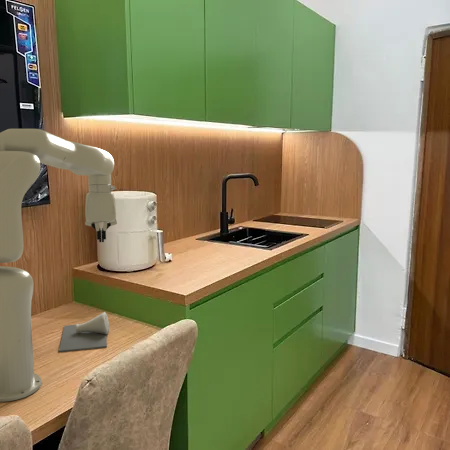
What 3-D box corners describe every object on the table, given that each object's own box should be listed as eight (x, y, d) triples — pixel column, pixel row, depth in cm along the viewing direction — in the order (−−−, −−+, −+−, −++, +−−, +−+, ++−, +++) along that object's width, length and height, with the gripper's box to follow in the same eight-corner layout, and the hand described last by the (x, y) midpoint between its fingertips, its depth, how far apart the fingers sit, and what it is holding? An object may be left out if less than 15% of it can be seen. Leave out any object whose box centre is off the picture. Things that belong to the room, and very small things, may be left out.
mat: (58, 352, 129) (58, 350, 129) (64, 327, 148) (64, 325, 148) (106, 347, 133) (106, 345, 133) (106, 323, 152) (106, 322, 152)
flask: (103, 321, 138) (72, 327, 137) (109, 338, 141) (78, 344, 140) (105, 307, 144) (75, 313, 143) (110, 324, 147) (81, 329, 147)
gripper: (121, 188, 153) (123, 238, 156) (77, 188, 149) (79, 240, 152) (122, 190, 146) (123, 242, 148) (76, 190, 142) (78, 244, 144)
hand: (101, 241), depth 150 cm, fingers closed
